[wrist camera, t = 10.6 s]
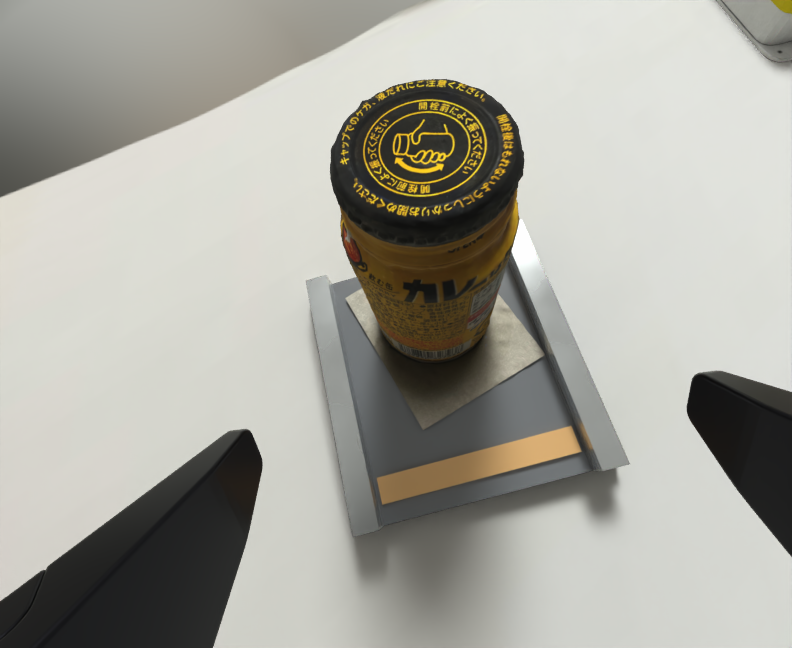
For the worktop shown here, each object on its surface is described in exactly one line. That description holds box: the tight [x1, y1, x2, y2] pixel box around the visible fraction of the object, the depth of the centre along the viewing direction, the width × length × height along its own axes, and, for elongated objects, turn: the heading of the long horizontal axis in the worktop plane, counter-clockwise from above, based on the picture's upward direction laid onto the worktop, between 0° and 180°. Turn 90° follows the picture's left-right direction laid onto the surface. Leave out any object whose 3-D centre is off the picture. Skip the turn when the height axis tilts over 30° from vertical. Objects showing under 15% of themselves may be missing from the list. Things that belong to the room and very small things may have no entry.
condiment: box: [330, 79, 545, 430], centre depth 15 cm, size 7×8×12 cm
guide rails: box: [306, 220, 630, 537], centre depth 20 cm, size 13×12×1 cm
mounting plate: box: [332, 264, 593, 526], centre depth 20 cm, size 13×13×1 cm
